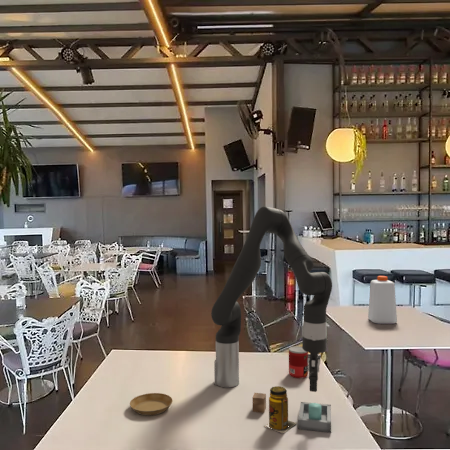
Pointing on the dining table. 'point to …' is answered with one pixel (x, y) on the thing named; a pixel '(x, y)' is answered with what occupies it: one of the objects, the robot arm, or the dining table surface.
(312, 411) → the teal cylinder
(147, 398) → the plant saucer
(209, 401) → the dining table surface
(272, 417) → the condiment
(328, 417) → the collection tray
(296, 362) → the canned food
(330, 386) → the dining table surface
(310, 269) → the robot arm
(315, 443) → the dining table surface
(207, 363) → the dining table surface
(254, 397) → the walnut block
